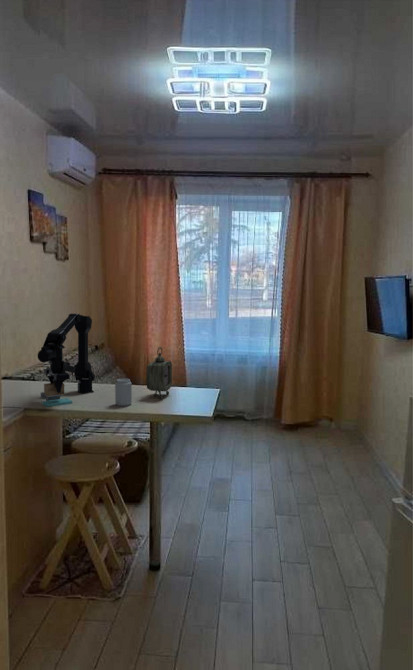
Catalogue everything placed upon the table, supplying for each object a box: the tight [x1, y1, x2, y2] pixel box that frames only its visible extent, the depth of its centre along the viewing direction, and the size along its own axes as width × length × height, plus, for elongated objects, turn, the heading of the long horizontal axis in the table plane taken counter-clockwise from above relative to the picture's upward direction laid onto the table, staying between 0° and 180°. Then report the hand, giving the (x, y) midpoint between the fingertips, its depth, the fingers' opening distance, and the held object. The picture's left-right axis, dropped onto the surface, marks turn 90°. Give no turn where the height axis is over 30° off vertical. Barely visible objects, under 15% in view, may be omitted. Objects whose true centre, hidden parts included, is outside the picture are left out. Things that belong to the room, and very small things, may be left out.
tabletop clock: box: [145, 346, 173, 400], centre depth 238 cm, size 14×9×25 cm, turn 167°
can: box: [114, 378, 133, 407], centre depth 222 cm, size 8×8×12 cm
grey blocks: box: [40, 391, 61, 401], centre depth 232 cm, size 6×11×2 cm, turn 35°
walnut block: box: [43, 382, 65, 396], centre depth 223 cm, size 8×5×5 cm, turn 124°
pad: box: [41, 397, 73, 408], centre depth 224 cm, size 12×7×1 cm, turn 125°
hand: (57, 391), depth 224 cm, fingers closed on walnut block, 5 cm apart
